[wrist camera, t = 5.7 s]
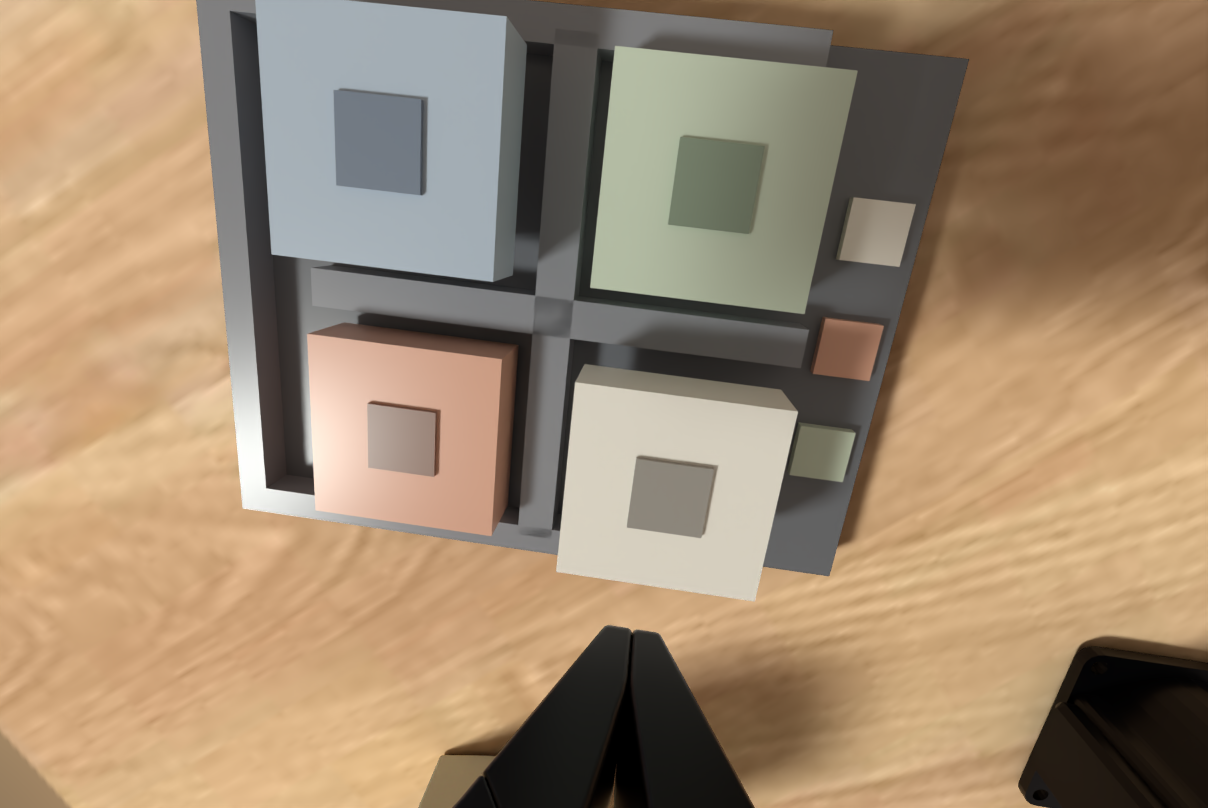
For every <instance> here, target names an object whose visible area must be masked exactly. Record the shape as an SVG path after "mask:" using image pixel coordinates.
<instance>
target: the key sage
mask: <svg viewBox="0 0 1208 808" xmlns="http://www.w3.org/2000/svg"><path fill="white" fill-rule="evenodd" d="M857 72H858V71H857V70H848V69H838V68H828V67H818V66H808V65H799V64H789V63H779V62H769V61H759V60H750V59H740V58H730V57H720V56H710V55H700V54H691V53H681V52H671V51H661V50H651V49H642V48H632V47H622V46H615V51H614V61H613V71H612V80H611V90H610V100H609V109H608V119H607V129H606V138H605V148H604V158H603V168H602V177H601V187H600V197H599V206H598V216H597V226H596V236H595V245H594V255H593V265H592V274H591V284H590V288H597V289H605V290H613V291H621V292H629V293H638V294H646V295H654V296H662V297H670V298H678V299H686V300H694V301H702V302H710V303H718V304H727V305H735V306H743V307H751V308H759V309H767V310H775V311H783V312H791V313H799V314H805V309H806V305H807V300H808V296H809V291H810V286H811V282H812V277H813V273H814V268H815V264H816V259H817V255H818V250H819V245H820V241H821V236H822V232H823V227H824V223H825V218H826V214H827V209H828V204H829V200H830V195H831V191H832V186H833V182H834V177H835V172H836V168H837V163H838V159H839V154H840V150H841V145H842V141H843V136H844V131H845V127H846V122H847V118H848V113H849V109H850V104H851V100H852V95H853V90H854V86H855V81H856V77H857Z"/></svg>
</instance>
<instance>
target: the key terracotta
mask: <svg viewBox="0 0 1208 808" xmlns="http://www.w3.org/2000/svg"><path fill="white" fill-rule="evenodd" d="M307 344H308V365H309V386H310V407H311V428H312V449H313V470H314V491H315V510H316V511H323V512H330V513H337V514H343V515H350V516H357V517H364V518H371V519H377V520H384V521H391V522H398V523H405V524H412V525H418V526H425V527H432V528H439V529H446V530H452V531H459V532H466V533H473V534H480V535H486V536H492V534H493V532H494V531H495V529H496V527H497V525H498V523H499V521H500V519H501V517H502V516H503V514H504V512H505V510H506V508H507V506H508V494H509V479H510V465H511V450H512V435H513V420H514V405H515V390H516V375H517V360H518V346H519V345H515V344H507V343H500V342H492V341H484V340H477V339H469V338H461V337H453V336H446V335H438V334H430V333H422V332H415V331H407V330H399V329H392V328H384V327H376V326H368V325H361V324H353V323H345V322H344V323H341V324H337V325H334V326H331V327H327V328H324V329H321V330H318V331H314V332H311V333H308V334H307Z"/></svg>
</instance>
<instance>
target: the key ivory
mask: <svg viewBox="0 0 1208 808" xmlns="http://www.w3.org/2000/svg"><path fill="white" fill-rule="evenodd" d="M797 414H798V411H797V410H796V408H795V407H794V406H793V404H792V403H791V402H790V401H789V399H788V398H787V397H786V395H785V394H784V393H783V391H782V390H780V389H773V388H765V387H757V386H750V385H742V384H734V383H726V382H719V381H711V380H703V379H696V378H688V377H680V376H673V375H665V374H657V373H650V372H642V371H634V370H627V369H619V368H611V367H604V366H596V365H588V364H584V366H583V368H582V370H581V372H580V374H579V376H578V378H577V380H576V382H575V389H574V399H573V409H572V419H571V429H570V439H569V449H568V459H567V469H566V479H565V489H564V499H563V509H562V519H561V529H560V539H559V549H558V559H557V569H556V572H560V573H567V574H574V575H581V576H587V577H594V578H601V579H607V580H614V581H621V582H628V583H634V584H641V585H648V586H654V587H661V588H668V589H674V590H681V591H688V592H695V593H701V594H708V595H715V596H721V597H728V598H735V599H742V600H748V601H755V598H756V594H757V590H758V585H759V581H760V576H761V572H762V568H763V563H764V559H765V554H766V550H767V546H768V541H769V537H770V532H771V528H772V524H773V519H774V515H775V510H776V506H777V502H778V497H779V493H780V489H781V484H782V480H783V475H784V471H785V467H786V462H787V458H788V453H789V449H790V445H791V440H792V436H793V431H794V427H795V423H796V418H797Z"/></svg>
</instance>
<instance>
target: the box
mask: <svg viewBox="0 0 1208 808" xmlns="http://www.w3.org/2000/svg"><path fill="white" fill-rule="evenodd" d="M495 757H496V756H482V755H443V756H441V757H440V758H439V760H438V763H437V765H436V767H435V770H434V772H433V774H432V777H431V779H430V781H429V784H428V786H427V788H426V791H425V793H424V795H423V798H422V800H421V802H420V805H419V807H418V808H452V807H453V806H454V805H455V804H456V803H457V801H458V800H459V799H460V798H461V797H462V796H463V794H464V793H465V792H466V791H467V790H468V788H469V787H470V786H471V785H472V784H473V782H474V781H475V780H476V779H477V778H478V777H479V776H482V774H483V771H484V770H485V769H486V767H487V766H488V765H489V764H490V763H491V761H492V760H493V759H494V758H495Z"/></svg>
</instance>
